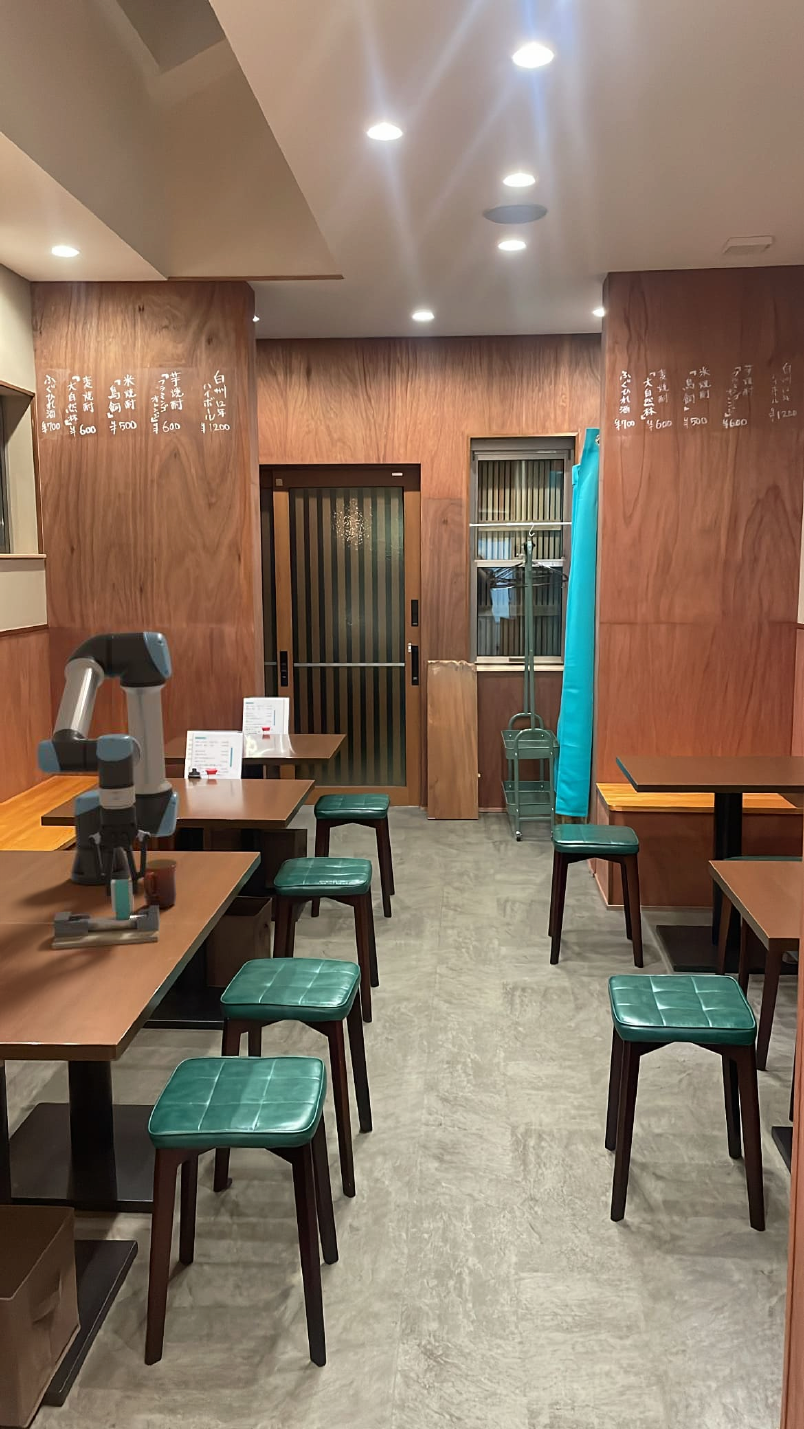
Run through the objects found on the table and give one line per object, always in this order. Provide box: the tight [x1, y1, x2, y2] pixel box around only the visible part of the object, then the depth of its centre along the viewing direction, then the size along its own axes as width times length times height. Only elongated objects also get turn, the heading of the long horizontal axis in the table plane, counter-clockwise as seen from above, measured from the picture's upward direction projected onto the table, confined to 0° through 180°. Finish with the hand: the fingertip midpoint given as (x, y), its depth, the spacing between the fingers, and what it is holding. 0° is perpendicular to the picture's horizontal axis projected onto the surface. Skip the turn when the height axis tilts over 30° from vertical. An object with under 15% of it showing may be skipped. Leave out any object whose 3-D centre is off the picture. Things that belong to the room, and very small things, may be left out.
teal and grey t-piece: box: [79, 878, 148, 932], centre depth 236 cm, size 3×15×11 cm, turn 100°
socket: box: [137, 905, 161, 932], centre depth 238 cm, size 6×4×4 cm
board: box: [51, 916, 161, 950], centre depth 237 cm, size 14×22×1 cm, turn 100°
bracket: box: [53, 911, 91, 939], centre depth 235 cm, size 6×7×4 cm
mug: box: [142, 858, 179, 910], centre depth 256 cm, size 12×9×10 cm
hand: (123, 909), depth 237 cm, fingers open, 3 cm apart
